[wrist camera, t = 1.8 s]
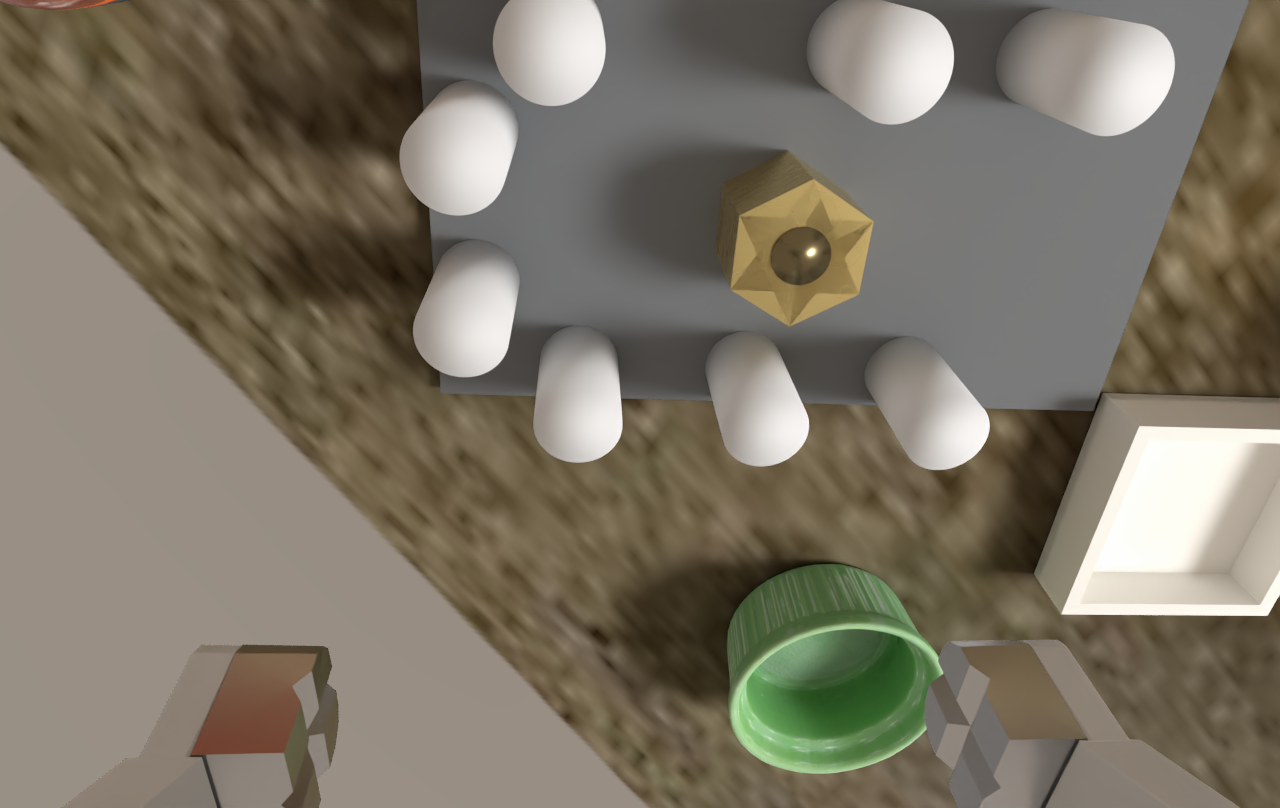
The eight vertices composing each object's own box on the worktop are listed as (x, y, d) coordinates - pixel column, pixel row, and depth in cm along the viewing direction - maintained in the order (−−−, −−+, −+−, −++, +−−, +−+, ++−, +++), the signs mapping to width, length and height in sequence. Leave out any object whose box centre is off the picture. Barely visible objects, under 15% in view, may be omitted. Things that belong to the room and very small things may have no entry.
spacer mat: (1088, 406, 33) (1162, 477, 29) (442, 388, 31) (419, 461, 27) (1276, -96, 25) (1419, -100, 20) (408, -165, 23) (367, -185, 18)
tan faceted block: (824, 287, 30) (852, 329, 26) (711, 282, 29) (726, 325, 26) (848, 153, 27) (882, 183, 24) (726, 147, 27) (744, 176, 24)
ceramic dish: (1228, 576, 38) (1267, 615, 36) (1033, 574, 37) (1061, 614, 35) (1322, 399, 34) (1373, 432, 31) (1102, 392, 33) (1139, 426, 31)
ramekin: (676, 616, 38) (686, 694, 34) (851, 516, 35) (883, 587, 32) (779, 721, 42) (798, 802, 38) (943, 637, 39) (982, 714, 35)
